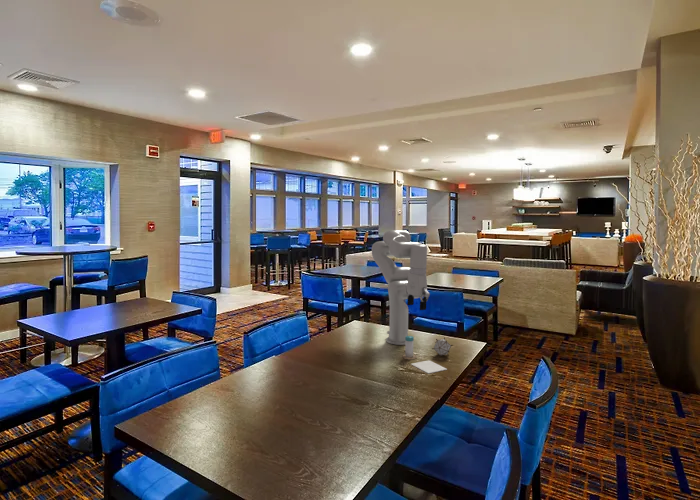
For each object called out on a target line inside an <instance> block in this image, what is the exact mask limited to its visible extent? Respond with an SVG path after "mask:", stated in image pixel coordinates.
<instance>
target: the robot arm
mask: <svg viewBox="0 0 700 500" xmlns="http://www.w3.org/2000/svg"><path fill="white" fill-rule="evenodd" d="M411 237H412V236H411V234H410V233H409V231H407V230H404V229H394V230H392V229H390V230H387V231H386V232H385V233H383V236H382V240H381V241H380V240H379V241H375V242H374V243H373V244H372V245H371V256H372V259H373V261H374V262H375V264H376V266H378V268H379V269H380V271H381V273H382V276H383V277H384V280H385V282H386V283H387V284H388V287H387V292H388V300H389V328H388V329H389V330H387V331H386V334H388V337H387V338H386V340H385V342H387V343H388V344H390V345H396V346H405V343H406V340H405V337H406V336H409V307H408V306H414V303H415V299H420V302H419V310H420V311H426V310H427V302H428V300H429V299H430V298H429V297H430V295H431V293H430V292H429V291H428V280H427V259H428V247H427V245H426V244H422V243H421V242H418V241H415V242H414V241H411V239H412V238H411ZM391 257H394V258H397V259H409V267H408V266H398V265H396V262H395V261H394V260H393V259H392V258H391ZM405 300H407V303H406V302H405Z"/></svg>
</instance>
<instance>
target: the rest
mask: <svg viewBox="0 0 700 500" xmlns="http://www.w3.org/2000/svg"><path fill="white" fill-rule="evenodd" d="M401 356H402V358H403V359H404V360H409V361H410V360H416V359H417V354H413V357H411V358H408V357H406V356H405V354H403V355H401Z"/></svg>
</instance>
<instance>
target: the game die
mask: <svg viewBox="0 0 700 500" xmlns="http://www.w3.org/2000/svg"><path fill="white" fill-rule="evenodd" d="M435 340H436V342H435V344H434V346H433V347H432V348H431V350H434V351H435V353H437V354H438V356H439V358H441V356H449V353H450V350H451V347H453V346H454V345H453V344H450V343H449V342H448V340H446V337H443V338H441V339H438V338H436V339H435Z"/></svg>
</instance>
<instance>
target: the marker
mask: <svg viewBox="0 0 700 500" xmlns="http://www.w3.org/2000/svg"><path fill="white" fill-rule="evenodd" d="M405 340H406V343H405V345H404V346H405V348H404V349H405V350H404V352H405V356H406V357H408V358H411V357H413V355H414V336H412V335H408V336H406V337H405Z"/></svg>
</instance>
